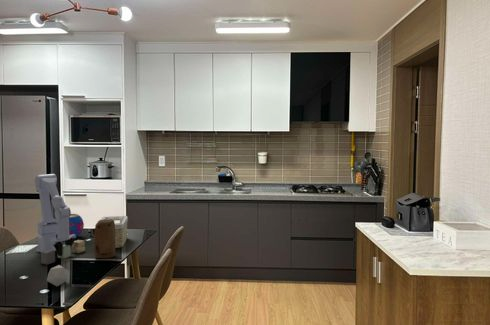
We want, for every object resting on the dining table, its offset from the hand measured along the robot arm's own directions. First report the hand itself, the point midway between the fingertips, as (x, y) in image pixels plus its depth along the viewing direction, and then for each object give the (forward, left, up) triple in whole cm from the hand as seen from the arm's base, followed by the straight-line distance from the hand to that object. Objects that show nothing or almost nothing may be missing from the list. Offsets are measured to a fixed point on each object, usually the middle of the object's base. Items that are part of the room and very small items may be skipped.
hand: (64, 254), depth 198 cm
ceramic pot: (-28, +29, -2) cm, 40 cm away
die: (+29, -29, -2) cm, 41 cm away
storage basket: (+6, +30, -2) cm, 31 cm away
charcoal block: (0, -10, -2) cm, 10 cm away
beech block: (0, +10, -2) cm, 10 cm away
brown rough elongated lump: (+21, +8, -2) cm, 23 cm away
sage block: (0, 0, -2) cm, 2 cm away
